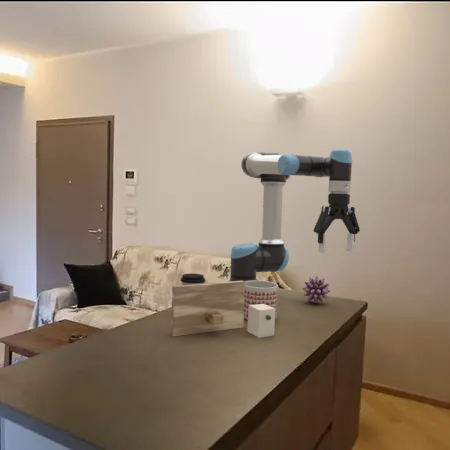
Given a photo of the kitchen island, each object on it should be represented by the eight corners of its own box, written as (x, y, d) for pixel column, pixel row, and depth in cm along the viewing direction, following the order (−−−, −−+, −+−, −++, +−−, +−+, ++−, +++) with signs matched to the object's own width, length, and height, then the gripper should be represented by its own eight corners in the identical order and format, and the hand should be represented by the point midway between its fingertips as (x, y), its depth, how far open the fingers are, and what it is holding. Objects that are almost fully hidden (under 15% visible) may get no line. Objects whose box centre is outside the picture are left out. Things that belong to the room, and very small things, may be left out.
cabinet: (247, 331, 154) (248, 305, 153) (262, 329, 157) (263, 303, 156) (260, 338, 147) (261, 311, 146) (276, 336, 150) (277, 309, 149)
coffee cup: (201, 319, 167) (202, 278, 165) (176, 317, 168) (177, 276, 167) (206, 312, 176) (207, 274, 175) (182, 310, 177) (183, 272, 176)
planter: (237, 320, 166) (239, 286, 166) (242, 311, 180) (244, 279, 179) (275, 323, 164) (276, 288, 163) (277, 314, 178) (279, 281, 177)
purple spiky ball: (324, 300, 203) (326, 273, 202) (333, 307, 191) (334, 279, 190) (299, 299, 202) (300, 273, 201) (305, 306, 190) (307, 278, 189)
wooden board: (171, 334, 148) (172, 285, 146) (240, 325, 160) (242, 280, 159) (180, 342, 141) (182, 291, 139) (252, 332, 153) (254, 285, 152)
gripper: (319, 192, 154) (316, 254, 156) (371, 194, 166) (368, 252, 168) (305, 191, 160) (302, 251, 162) (356, 193, 173) (353, 249, 174)
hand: (336, 252), depth 165 cm, fingers open, 13 cm apart
